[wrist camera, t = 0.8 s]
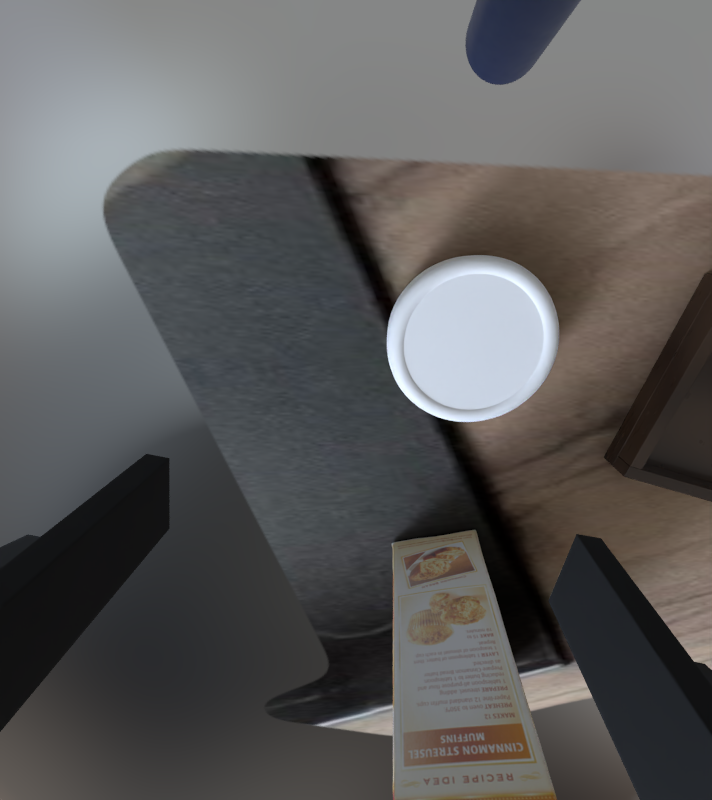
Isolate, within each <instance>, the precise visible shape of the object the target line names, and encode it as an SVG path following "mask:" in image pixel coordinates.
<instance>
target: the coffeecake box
mask: <svg viewBox="0 0 712 800" xmlns="http://www.w3.org/2000/svg"><path fill="white" fill-rule="evenodd" d="M392 548H393V800H557V799H556V795H555V792H554V789H553V785H552V782H551V778H550V775H549V772H548V768H547V765H546V761H545V758H544V755H543V752H542V748H541V745H540V742H539V739H538V735H537V732H536V729H535V726H534V722H533V719H532V716H531V712H530V709H529V706H528V703H527V699H526V696H525V693H524V690H523V687H522V683H521V680H520V677H519V674H518V670H517V667H516V664H515V661H514V657H513V654H512V651H511V647H510V644H509V641H508V637H507V634H506V631H505V627H504V624H503V620H502V617H501V613H500V610H499V606H498V603H497V600H496V596H495V593H494V590H493V587H492V584H491V580H490V577H489V574H488V571H487V568H486V565H485V561H484V558H483V555H482V551H481V547H480V543H479V539H478V535H477V532H476V530H469V531H463V532H458V533H452V534H447V535H442V536H435V537H425V538H416V539H410V540H405V541H399V542H393V543H392Z"/></svg>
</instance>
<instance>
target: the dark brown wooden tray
mask: <svg viewBox="0 0 712 800" xmlns="http://www.w3.org/2000/svg"><path fill="white" fill-rule="evenodd" d="M604 458H605V459H606V460H607V461H608V462H609V463H610V464H611V465H612V466H613V467H615V468H616V469H617V470H618V471H619V472H620V473H621V474H622V475H623V476H624V477H628V478H631V479H635V480H638V481H642V482H645V483H649V484H652V485H656V486H659V487H663V488H666V489H670V490H673V491H677V492H680V493H684V494H687V495H691V496H694V497H698V498H701V499H705V500H708V501H712V274H705V275H704V277H703V278H702V280H701V282H700V284H699V286H698V288H697V289H696V291H695V293H694V295H693V297H692V298H691V300H690V302H689V304H688V306H687V308H686V309H685V311H684V313H683V315H682V317H681V318H680V320H679V322H678V324H677V326H676V328H675V329H674V331H673V333H672V335H671V337H670V338H669V340H668V342H667V344H666V346H665V347H664V349H663V351H662V353H661V355H660V357H659V358H658V360H657V362H656V364H655V366H654V367H653V369H652V371H651V373H650V375H649V377H648V378H647V380H646V382H645V384H644V386H643V387H642V389H641V391H640V393H639V395H638V397H637V398H636V400H635V402H634V404H633V406H632V407H631V409H630V411H629V413H628V415H627V416H626V418H625V420H624V422H623V424H622V426H621V427H620V429H619V431H618V433H617V435H616V436H615V438H614V440H613V442H612V444H611V446H610V447H609V449H608V451H607V453H606V455H605V456H604Z"/></svg>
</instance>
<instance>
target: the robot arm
mask: <svg viewBox="0 0 712 800" xmlns="http://www.w3.org/2000/svg"><path fill="white" fill-rule="evenodd" d="M168 529H169V458H165V457H160V456H154V455H149V454H146V455H144V456H143V457H142V458H141V459H139V460H138V461H137V462H135V463H134V464H133V465H132V466H130V467H129V468H128V469H126V470H125V471H124V472H123V473H121V474H120V475H119V476H118V477H116V478H115V479H114V480H112V481H111V482H110V483H109V484H108V485H106V486H105V487H104V488H102V489H101V490H100V491H98V492H97V493H96V494H95V495H93V496H92V497H91V498H90V499H88V500H87V501H86V502H84V503H83V504H82V505H81V506H79V507H78V508H77V509H76V510H74V511H73V512H72V513H71V514H69V515H68V516H67V517H65V518H64V519H63V520H62V521H60V522H59V523H58V524H56V525H55V526H54V527H53V528H52V529H50V530H49V531H48V532H46V533H45V534H44V535H42V536H41V537H38V536H33V535H26V536H24V537H22V538H19V539H17V540H15V541H13V542H11V543H8V544H7V545H4V546H2V547H0V731H1V730H2V729H3V728H4V726H5V725H6V724H7V723H8V722H9V721H10V719H11V718H12V717H13V716H14V715H15V713H16V712H17V711H18V710H19V708H20V707H21V706H22V705H23V704H24V702H25V701H26V700H27V699H28V698H29V697H30V695H31V694H32V693H33V692H34V691H35V689H36V688H37V687H38V686H39V685H40V683H41V682H42V681H43V679H44V678H45V677H46V676H47V675H48V674H49V672H50V671H51V670H52V669H53V668H54V667H55V665H56V664H57V663H58V662H59V660H60V659H61V658H62V657H63V656H64V654H65V653H66V652H67V651H68V650H69V648H70V647H71V646H72V645H73V644H74V642H75V641H76V640H77V639H78V638H79V636H80V635H81V634H82V633H83V632H84V630H85V629H86V628H87V627H88V626H89V624H90V623H91V622H92V621H93V620H94V618H95V617H96V616H97V615H98V614H99V612H100V611H101V610H102V609H103V608H104V606H105V605H106V604H107V603H108V602H109V600H110V599H111V598H112V597H113V595H114V594H115V593H116V592H117V591H118V590H119V588H120V587H121V586H122V585H123V583H124V582H125V581H126V580H127V579H128V578H129V576H130V575H131V574H132V573H133V571H134V570H135V569H136V568H137V567H138V566H139V564H140V563H141V562H142V561H143V560H144V558H145V557H146V556H147V555H148V553H149V552H150V551H151V550H152V549H153V547H154V546H155V545H156V544H157V543H158V541H159V540H160V539H161V538H162V537H163V535H164V534H165V533H166V532H167V531H168ZM549 603H550V605H551V607H552V610H553V612H554V614H555V616H556V618H557V620H558V623H559V625H560V627H561V629H562V631H563V634H564V636H565V638H566V640H567V642H568V644H569V647H570V649H571V651H572V653H573V655H574V657H575V660H576V662H577V664H578V666H579V668H580V670H581V673H582V675H583V677H584V679H585V681H586V684H587V686H588V688H589V690H590V692H591V694H592V697H593V699H594V701H595V703H596V705H597V707H598V710H599V712H600V714H601V716H602V718H603V720H604V723H605V725H606V727H607V729H608V731H609V733H610V736H611V737H612V740H613V742H614V744H615V747H616V748H617V751H618V753H619V755H620V757H621V760H622V762H623V764H624V766H625V768H626V770H627V773H628V775H629V777H630V779H631V781H632V783H633V786H634V788H635V790H636V792H637V794H638V797H639V799H640V800H712V670H711V669H710V668H709V667H707V666H706V665H705V664H702V663H697V662H694V661H693V660H692V659H691V657H690V656H689V655H688V653H687V652H686V651H685V649H684V648H683V647H682V645H681V644H680V643H679V641H678V640H677V639H676V637H675V636H674V635H673V633H672V632H671V631H670V629H669V628H668V627H667V625H666V624H665V623H664V621H663V620H662V619H661V617H660V616H659V615H658V613H657V612H656V611H655V609H654V608H653V607H652V605H651V604H650V603H649V601H648V600H647V599H646V597H645V596H644V595H643V593H642V592H641V591H640V590H639V588H638V587H637V586H636V584H635V583H634V582H633V580H632V579H631V578H630V576H629V575H628V574H627V572H626V571H625V570H624V568H623V567H622V566H621V564H620V563H619V562H618V560H617V559H616V558H615V556H614V555H613V554H612V552H611V551H610V550H609V548H608V547H607V546H606V544H605V543H604V542H603V540H602V539H601V538H596V537H590V536H585V535H579V534H576V537H575V539H574V541H573V544H572V546H571V549H570V551H569V553H568V556H567V558H566V560H565V563H564V565H563V567H562V570H561V572H560V575H559V577H558V579H557V582H556V584H555V586H554V589H553V591H552V594H551V596H550V598H549Z"/></svg>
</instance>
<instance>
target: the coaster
mask: <svg viewBox="0 0 712 800" xmlns="http://www.w3.org/2000/svg"><path fill="white" fill-rule="evenodd" d="M558 345H559V322H558V316H557V312H556V308H555V306H554V303H553V301H552V298H551V296H550V295H549V293H548V291H547V290H546V288H545V287H544V285H543V284H542V283H541V282H540V280H539V279H538V278H537V277H536V276H535V275H533V274H532V273H531V272H530V271H529V270H527V269H526V268H524V267H523V266H521V265H519V264H517V263H515V262H513V261H511V260H508V259H504V258H501V257H496V256H489V255H469V256H460V257H454V258H451V259H447V260H444V261H442V262H439V263H437V264H435V265H433V266H431V267H429V268H428V269H426V270H424V271H423V272H422V273H420V274H419V275H418V276H416V277H415V278H414V279H413V280H412V281H411V282H410V283H409V284H408V285H407V286H406V288H405V289H404V290H403V292H402V293H401V294H400V296H399V298H398V299H397V301H396V303H395V305H394V307H393V310H392V312H391V316H390V319H389V323H388V331H387V354H388V360H389V364H390V368H391V371H392V373H393V376H394V378H395V380H396V382H397V384H398V386H399V387H400V389H401V390H402V391H403V393H404V394H405V395H406V396H407V397H408V398H409V399H410V400H411V401H412V402H413V403H414V404H416V405H417V406H418V407H419V408H421V409H423V410H424V411H426V412H428V413H430V414H432V415H434V416H437V417H439V418H443V419H446V420H451V421H458V422H475V421H483V420H487V419H492V418H495V417H498V416H501V415H503V414H505V413H507V412H509V411H512V410H513V409H515V408H516V407H518V406H519V405H521V404H522V403H524V402H525V401H526V400H527V399H529V398H530V397H531V396H532V395H533V394H534V393H535V392H536V391H537V390H538V389H539V387H540V386H541V385H542V383H543V382H544V381H545V379H546V378H547V376H548V374H549V372H550V371H551V368H552V366H553V364H554V361H555V358H556V354H557V351H558Z"/></svg>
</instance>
